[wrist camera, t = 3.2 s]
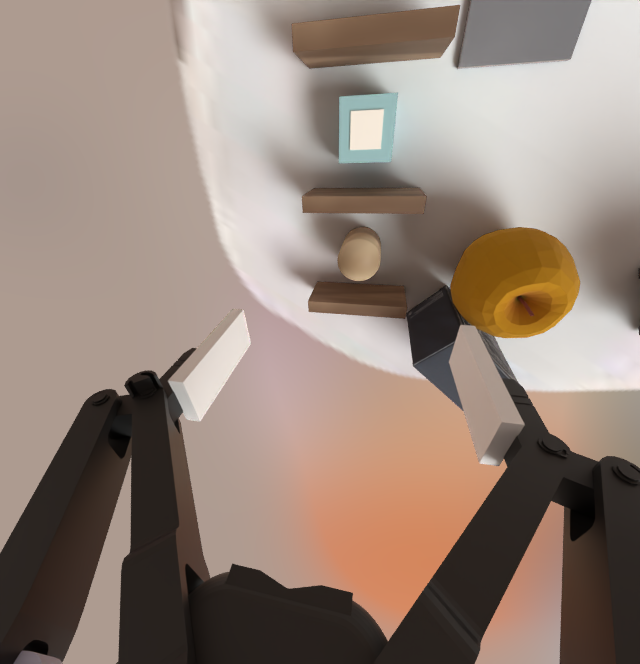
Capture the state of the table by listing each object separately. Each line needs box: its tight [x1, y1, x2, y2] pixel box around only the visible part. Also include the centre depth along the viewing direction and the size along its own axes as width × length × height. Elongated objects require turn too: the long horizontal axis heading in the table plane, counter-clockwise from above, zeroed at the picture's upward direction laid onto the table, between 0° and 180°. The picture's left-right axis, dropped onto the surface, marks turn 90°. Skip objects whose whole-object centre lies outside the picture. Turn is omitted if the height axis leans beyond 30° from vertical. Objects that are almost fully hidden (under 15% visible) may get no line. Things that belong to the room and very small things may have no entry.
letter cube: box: [339, 93, 398, 163], centre depth 24 cm, size 4×4×5 cm
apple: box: [450, 227, 580, 338], centre depth 26 cm, size 10×10×12 cm
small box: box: [407, 286, 518, 411], centre depth 32 cm, size 11×6×10 cm, turn 49°
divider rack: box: [292, 5, 460, 319], centre depth 24 cm, size 34×11×6 cm, turn 1°
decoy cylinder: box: [338, 227, 381, 281], centre depth 30 cm, size 4×4×5 cm
